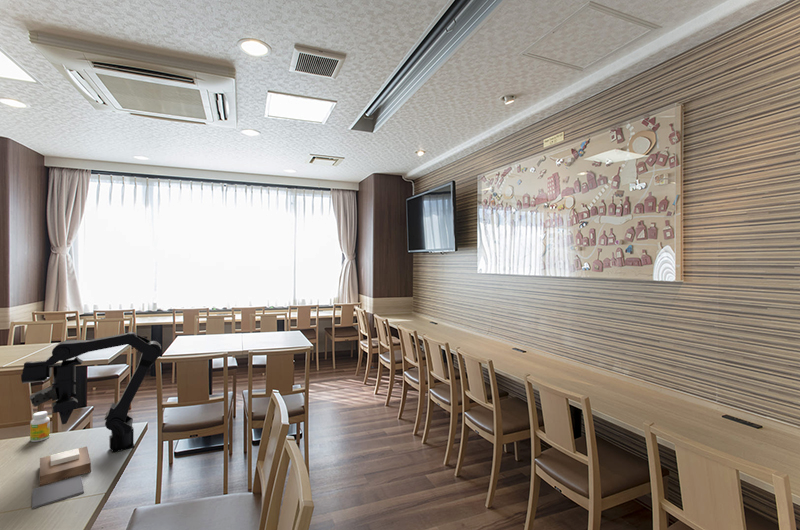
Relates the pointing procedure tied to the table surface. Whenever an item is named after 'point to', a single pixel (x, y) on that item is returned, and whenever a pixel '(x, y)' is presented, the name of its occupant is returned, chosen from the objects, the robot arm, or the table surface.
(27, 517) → the table surface
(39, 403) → the robot arm
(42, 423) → the supplement bottle
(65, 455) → the white rectangular block
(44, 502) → the mat
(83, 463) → the serving board
